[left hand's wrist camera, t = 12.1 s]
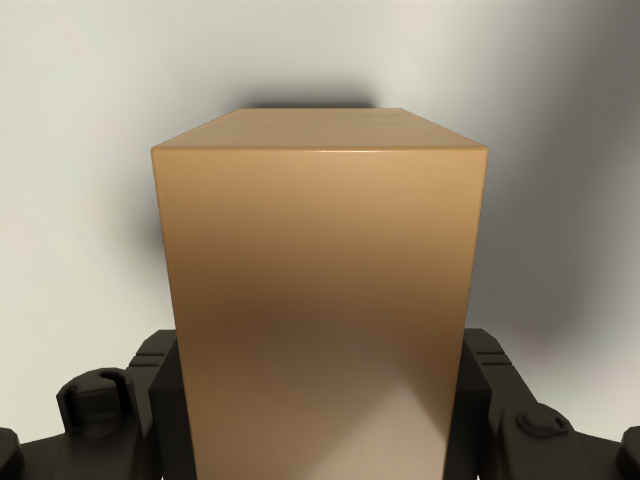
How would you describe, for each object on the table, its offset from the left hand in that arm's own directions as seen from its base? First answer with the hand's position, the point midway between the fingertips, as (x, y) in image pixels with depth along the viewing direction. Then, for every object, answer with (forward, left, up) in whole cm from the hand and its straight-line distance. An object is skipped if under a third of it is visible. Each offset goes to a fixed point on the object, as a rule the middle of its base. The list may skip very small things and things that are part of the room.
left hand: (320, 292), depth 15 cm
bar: (-7, +22, -1) cm, 23 cm away
